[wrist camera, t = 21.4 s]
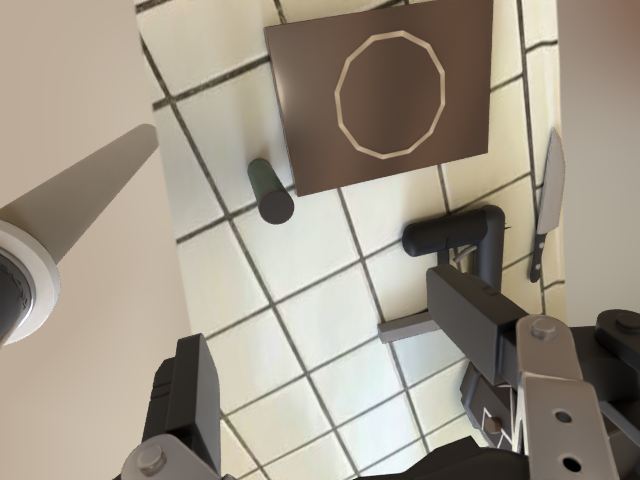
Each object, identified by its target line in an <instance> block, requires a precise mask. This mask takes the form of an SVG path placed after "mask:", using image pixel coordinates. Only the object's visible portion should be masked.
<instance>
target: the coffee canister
mask: <svg viewBox="0 0 640 480" xmlns="http://www.w3.org/2000/svg"><path fill="white" fill-rule="evenodd" d="M510 390H511V385H510V384H509V383H508V382H507V381H505V382H502V383H500V384H497V385H494V386H493V385H492V384H491V383H490V382H489V381H488V380H487V379H486V378H485V376H484V375H483V374H482V373H481V372H480V371H479V370H478V369H477V368H476V367H475V365H474V364H473V363H472V362H471V361H470V363H469V365H468V368H467V371H466V374H465V376H464V379H463V382H462V385H461V387H460V391H461V393H462V395H463V396H462V398H461V402H462V404H463V406H464V409H465V411H466V413H467V415H468V417H469V419H470V421H471V423H472V425H473V428H475V429H479V430H480V432H481V434H482V435H483V437H484V439H485V440H486V442H487V444H488V445H489V447H494V448H501V449H506V450H510V451H512V426H511V402H510ZM601 413H602V412H601ZM602 417H603V421H604V424H605V428H606V431H607V435H608V439H609V442H610V446H611V449H612V453H613V457H614V460H615V464H616V467H617V471H618V475H619V478H620V480H640V447H639V446H638V445H637V444H636V443H634V442H633V441H632V440H631V439H630V438H629V437H628V436H627V435H626V434H625V433H624V432H623V431H622V430H620V429H619V428H618V427H617V426H616V425H615V424H614V423H613V422H612V421H611V420H610V419H609V418H608V417H607V416H605V415H604V414H603V413H602Z"/></svg>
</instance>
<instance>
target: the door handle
mask: <svg viewBox="0 0 640 480" xmlns="http://www.w3.org/2000/svg"><path fill="white" fill-rule="evenodd" d="M505 224H506V223H505V214H504V212H503V210H502V209H501V208H499V207H498V206H495V205H485V206H483V207H481V208H480V209H476V210H472V211H467V212H463V213H459V214H454V215H450V216H445V217H441V218H437V219H432V220H428V221H424V222H419V223H415V224H411V225H409V226H407V227H406V229H405V230H404V232H403V236H402V243H403V247H404V250H405V251H406V253H407V254H408V255H410V256H412V257H417V256H421V255H425V254H429V253H433V252H437V260H438V266H439V265H443V264H446V263H449V249H450V248H454V247H459V246H463V245H467V244H471V243H474V244H473V245H471V246H469V247H467V248H465V249H464V250H462V251H461V252H460V253H459V254H457V255H456V256H455V257H454V258H453V259H452V260H453V261H454V262H455V263H458V262H459V261H460V260H461V259H462V258H463V257H464V256H466V255H467V254H468V253H470V252H471V251H473V250H474V276H477V277H480V278H481V279H483V280H484V281H485V282H487V283H488V284H489V285H490V286H491V287H493V288H495V289H496V290H497V291H499V293H500V294H501V279H502V263H503V246H504V230H505V229H507V228H510V227H506V228H505ZM377 327H378V335H379V337H380V339H381V341H382V343H383V344H385V343H389V342H393V341H396V340H400V339H404V338H408V337H412V336H416V335H419V334H423V333H427V332H431V331H435V330H438V329H441V328H440V327H439V326H438V325H437V324H436V322H435V321H434V320H433V319H432V317H431V315H430V313H429V311H428V312H424V313H420V314H416V315H412V316H409V317H405V318H401V319H397V320H393V321H389V322H385V323H381V324H377Z"/></svg>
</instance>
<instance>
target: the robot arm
mask: <svg viewBox="0 0 640 480" xmlns="http://www.w3.org/2000/svg"><path fill="white" fill-rule="evenodd" d="M426 282H427V305H428V310H429V313H430V315H431V317H432V319H433V320H434V321H435V322H436V324H437V325H438V326H439V327H440V328H441V329H442V330H443V331H444V332H445V333H446V335H447V336H448V337H449V338H450V339H451V340H452V341H453V342H454V343H455V344H456V346H457V347H458V348H459V349H460V350H461V351H462V352H463V353H464V354H465V355H466V357H467V358H468V359H469V360H470V361H471V362H472V363H473V364H474V365H475V367H476V368H477V369H478V370H479V371H480V372H481V373H482V374H483V375H484V376H485V378H486V379H487V380H488V381H489V382H490V383H491V384H492V385H493V386H494V385H497V384H500V383H502V382H505V381H507V382H508V383H509V384H510V385H511V390H510V402H511V426H512V451H510V450H506V449H501V448H494V447H479V446H478V445H477V443H476V442H475V440H474V439H473V438H472V436H471V435H470V436H468V437H465V438H462V439H460V440H457V441H454V442H452V443H449V444H446V445H444V446H441V447H438V448H436V449H434V450H433V451H432V452H430V453H429V454H428V455H426V456H425V457H424V458H422V459H421V460H420V461H418V462H417V463H416V464H414V465H413V466H412V467H410V468H409V469H408V470H406V471H405V472H402V473H397V474H386V475H375V476H365V477H358V478H355V479H353V480H620V478H619V475H618V471H617V467H616V464H615V460H614V457H613V453H612V449H611V446H610V442H609V439H608V435H607V431H606V428H605V424H604V421H603V417H602V413H603V414H604V415H605V416H607V417H608V418H609V419H610V420H611V421H612V422H613V423H614V424H615V425H616V426H617V427H618V428H619V429H620V430H622V431H623V432H624V433H625V434H626V435H627V436H628V437H629V438H630V439H631V440H632V441H633V442H634V443H636V444H637V445H638V446H639V447H640V314H639V313H636V312H632V311H628V310H620V309H614V310H606V311H603V312H602V313H600V314H599V315H598V317H597V322H596V326H584V327H568V326H567V325H566V324H564V323H563V322H561V321H560V320H558V319H555V318H553V317H549V316H545V315H529V314H528V313H527V312H525V311H524V310H523V309H521V308H520V307H519V306H517V305H516V304H515V303H513V302H512V301H511V300H509V299H508V298H507V297H505V296H504V295H503V294H500V293H499V291H497V290H496V289H495V288H493V287H491V286H490V285H489V284H488V283H487V282H485V281H484V280H483V279H481V278H480V277H477V276H474V275H472V274H469V273H466V272H465V273H461V272H460V271H458V270H457V269H456V268H455V267H453V266H452V265H451V264H449V263H446V264H443V265H439V266H436V267H432V268H429V269H428V270H427V272H426ZM35 302H36V286H35V282H34V280H33V277H32V275H31V273H30V272H29V270H28V269H27V268H26V266H25V265H24V264H23V263H22V262H21V261H20V260H19V259H18V258H17V257H16V256H15V255H13V254H12V253H11V252H9V251H7V250H6V249H4V248H2V247H1V246H0V349H1V347H2V346H3V345H4V344H5V343H6V341H7V340H8V339H9V337H10V336H11V335H12V334H13V332H14V331H15V330H16V329H17V327H19V326H20V325H21V324H22V323H23V322H24V321H25V320H26V318H27V317H28V316H29V315H30V313H31V312H32V310H33V308H34V305H35ZM150 398H151V401H150V402H149V407H148V412H147V417H146V422H145V427H144V432H143V438H142V442H141V444H140V445H139V446H137V447H136V448H135V449H134V450H133V451H132V453H131V454H130V455H129V456H128V458H127V459H126V461H125V463H124V465H123V467H122V471H121V474H119V475H118V476H117V477H116V478H114V479H113V480H237V479H236V478H234V477H233V476H231V475H229V474H226V475H225V476H224V477H221V448H220V388H219V379H218V374H217V370H216V367H215V364H214V362H213V359H212V356H211V354H210V351H209V348H208V345H207V343H206V340H205V337H204V335H203V334H202V333H199V334H195V335H192V336H188V337H185V338H182V339H179V340H178V342H177V348H176V355H175V357H173V358H169V359H166V360H164V361H163V363H162V364H161V366H160V367H159V369H158V370H157V372H156V373H155V377H154V382H153V389H152V392H151V397H150ZM601 412H602V413H601Z"/></svg>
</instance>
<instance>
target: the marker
mask: <svg viewBox="0 0 640 480" xmlns="http://www.w3.org/2000/svg"><path fill="white" fill-rule="evenodd" d="M248 175H249V178H250V182H251V185H252V188H253V191H254V194H255V197H256V200H257V203H258V209H259V212H260V215H261V217H262V218H263V219H264V220H265V221H266V222H268V223H270V224H282V223H284V222H286V221H287V220H289V219H290V218H291V216H292V214H293V212H294V202H293V200H292V198H291V196H290V195H289V194H288V193H287V191H286V190H285V188H284V186H283V185H282V183H281V182H280V180H279V178H278V177H277V175H276V173H275V172H274V170H273V168H272V167H271V165H270V164H269V163H268V162H267V161H266V160H264V159H256V160H254V161H252V162H251V163H250V164H249V166H248Z"/></svg>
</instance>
